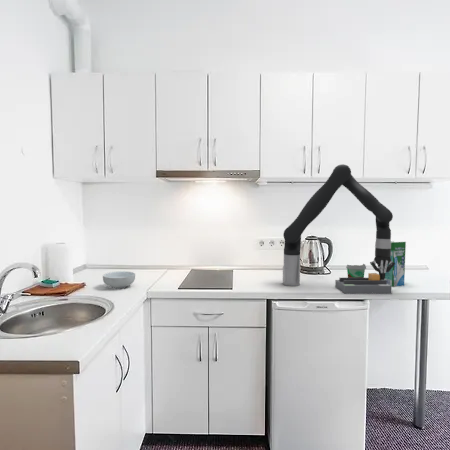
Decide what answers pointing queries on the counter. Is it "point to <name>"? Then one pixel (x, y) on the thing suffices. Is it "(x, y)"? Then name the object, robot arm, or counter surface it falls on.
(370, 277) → the switch knob
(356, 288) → the switch plate
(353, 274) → the food container
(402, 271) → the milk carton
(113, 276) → the cereal bowl
